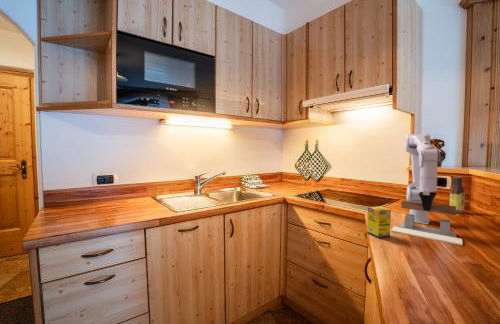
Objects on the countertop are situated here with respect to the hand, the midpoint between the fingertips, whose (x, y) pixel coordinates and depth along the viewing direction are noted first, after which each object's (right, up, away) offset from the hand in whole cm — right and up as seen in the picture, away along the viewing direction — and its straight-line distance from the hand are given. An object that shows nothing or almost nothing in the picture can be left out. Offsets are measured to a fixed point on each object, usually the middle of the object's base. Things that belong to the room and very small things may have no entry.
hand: (427, 209), depth 97 cm
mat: (-5, -9, -6) cm, 12 cm away
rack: (0, -9, 0) cm, 9 cm away
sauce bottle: (+40, -8, +31) cm, 51 cm away
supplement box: (-23, -9, -5) cm, 26 cm away
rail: (0, 0, 0) cm, 0 cm away
